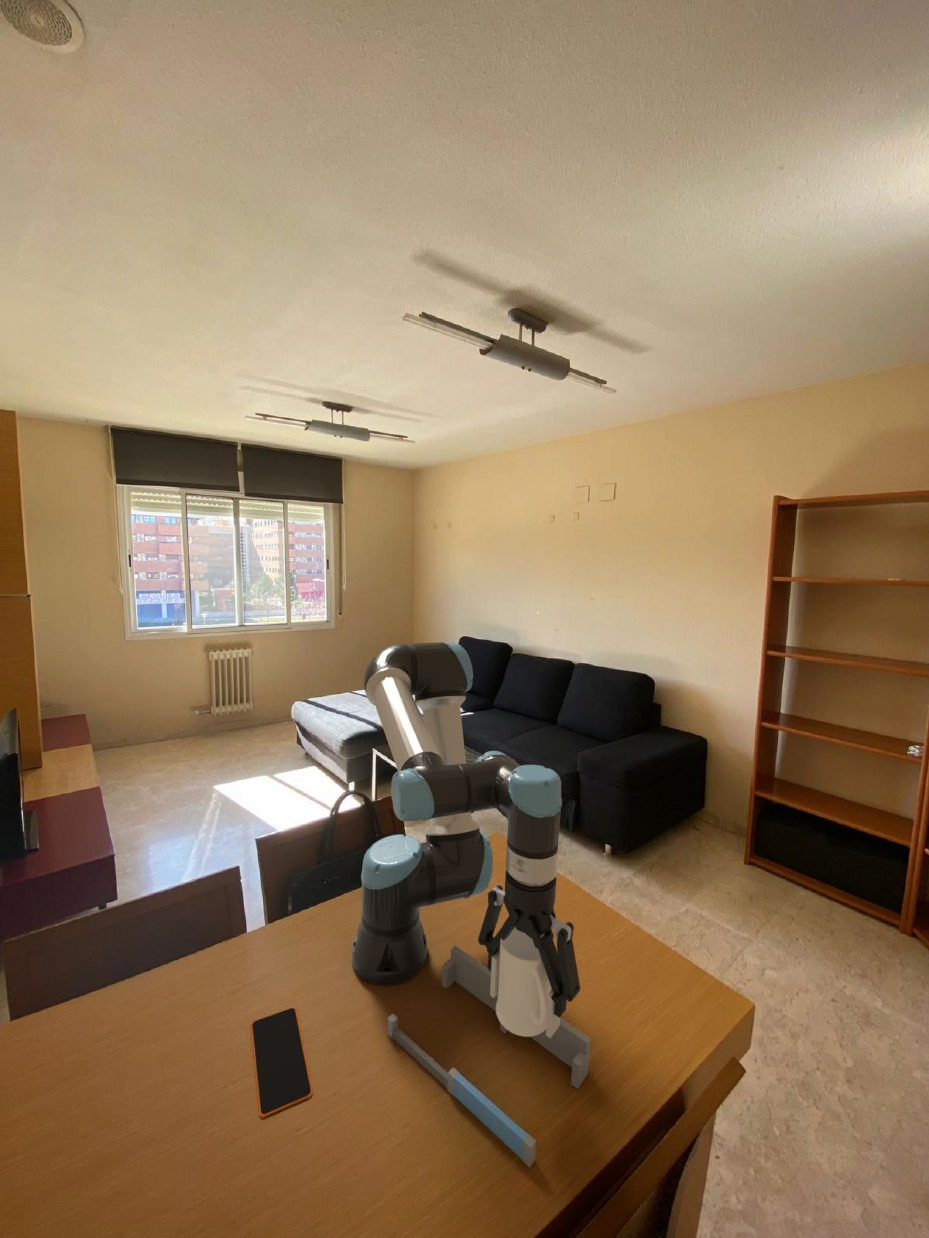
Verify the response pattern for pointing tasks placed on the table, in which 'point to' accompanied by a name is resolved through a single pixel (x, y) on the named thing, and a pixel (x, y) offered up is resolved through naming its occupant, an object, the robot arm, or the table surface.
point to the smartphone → (279, 1062)
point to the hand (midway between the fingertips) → (523, 1009)
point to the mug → (522, 986)
